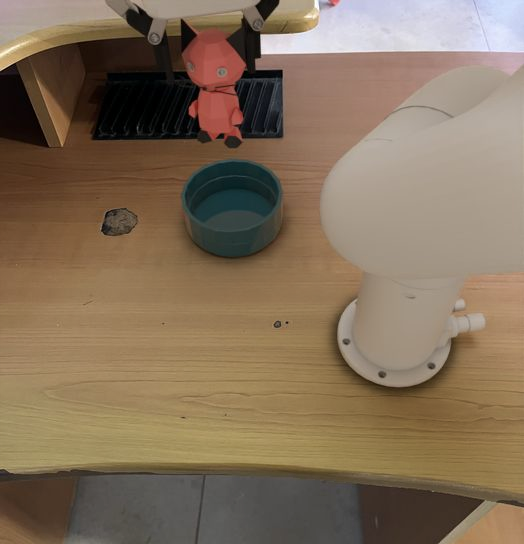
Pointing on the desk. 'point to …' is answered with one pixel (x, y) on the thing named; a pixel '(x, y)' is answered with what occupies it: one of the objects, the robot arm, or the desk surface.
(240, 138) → the cat figurine
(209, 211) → the bowl
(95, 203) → the desk surface
